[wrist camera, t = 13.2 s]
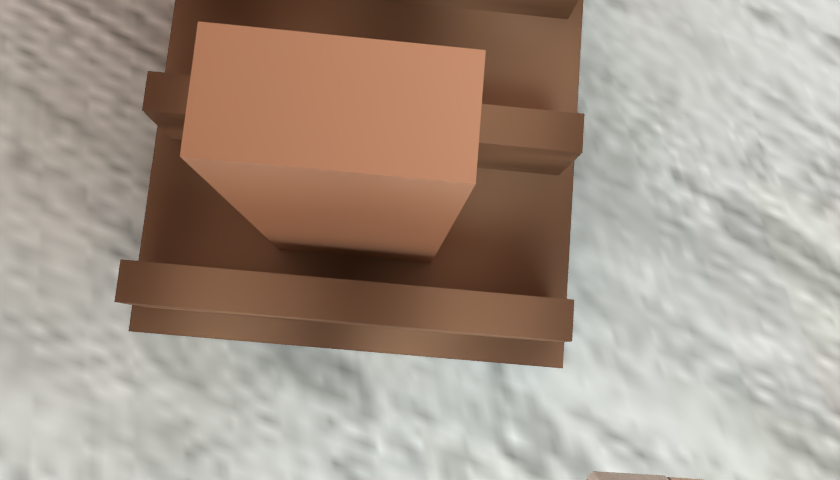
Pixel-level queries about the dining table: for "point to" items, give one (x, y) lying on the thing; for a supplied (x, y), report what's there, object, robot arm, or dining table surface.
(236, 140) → the clay slab
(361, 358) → the dining table surface
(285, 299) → the rack
